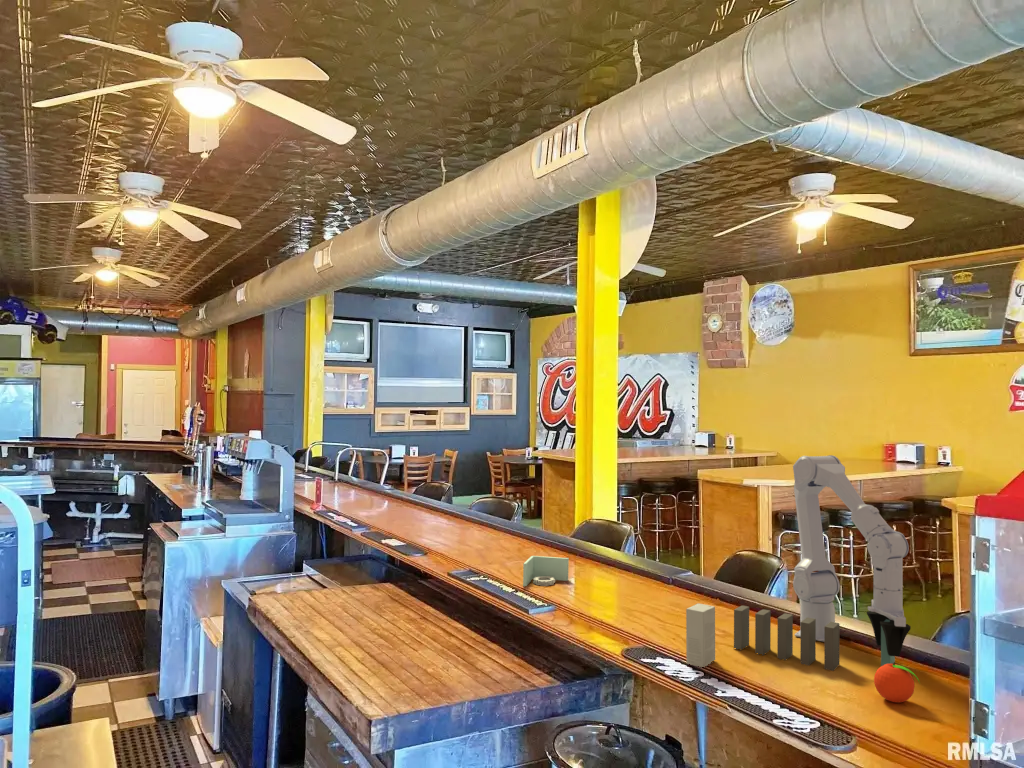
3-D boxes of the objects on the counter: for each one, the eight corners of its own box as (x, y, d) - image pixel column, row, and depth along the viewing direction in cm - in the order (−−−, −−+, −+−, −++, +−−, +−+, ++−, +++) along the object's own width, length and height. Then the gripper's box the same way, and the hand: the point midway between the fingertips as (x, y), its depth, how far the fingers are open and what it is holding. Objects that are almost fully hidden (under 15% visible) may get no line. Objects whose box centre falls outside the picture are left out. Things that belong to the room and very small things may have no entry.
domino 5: (824, 668, 159) (824, 626, 159) (830, 662, 163) (830, 621, 163) (833, 670, 158) (833, 628, 158) (839, 664, 162) (839, 623, 162)
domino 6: (880, 665, 161) (881, 624, 162) (885, 660, 165) (886, 619, 165) (890, 667, 160) (890, 625, 160) (894, 661, 164) (894, 620, 164)
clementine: (925, 702, 142) (924, 664, 142) (915, 713, 136) (915, 674, 137) (879, 691, 147) (879, 655, 147) (869, 701, 142) (869, 663, 142)
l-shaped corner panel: (523, 588, 228) (523, 563, 228) (531, 579, 239) (531, 555, 240) (561, 591, 225) (562, 566, 225) (568, 581, 236) (568, 558, 237)
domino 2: (755, 653, 168) (755, 613, 169) (762, 648, 172) (762, 609, 172) (763, 655, 167) (763, 615, 167) (770, 650, 171) (770, 610, 171)
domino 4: (800, 663, 162) (800, 622, 162) (807, 657, 166) (807, 617, 166) (808, 665, 161) (809, 623, 161) (815, 659, 165) (815, 618, 165)
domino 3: (777, 658, 165) (777, 617, 165) (784, 653, 169) (784, 613, 169) (785, 660, 164) (785, 619, 164) (792, 654, 168) (792, 614, 168)
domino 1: (733, 648, 171) (734, 609, 172) (741, 643, 175) (741, 605, 175) (741, 650, 170) (741, 611, 171) (749, 645, 174) (749, 606, 174)
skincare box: (697, 656, 166) (697, 602, 166) (715, 661, 163) (716, 606, 163) (685, 664, 161) (685, 608, 161) (703, 668, 158) (704, 612, 159)
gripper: (857, 579, 171) (857, 639, 170) (880, 595, 156) (880, 660, 156) (890, 580, 170) (890, 640, 170) (916, 597, 156) (916, 662, 155)
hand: (887, 650), depth 163 cm, fingers open, 6 cm apart
